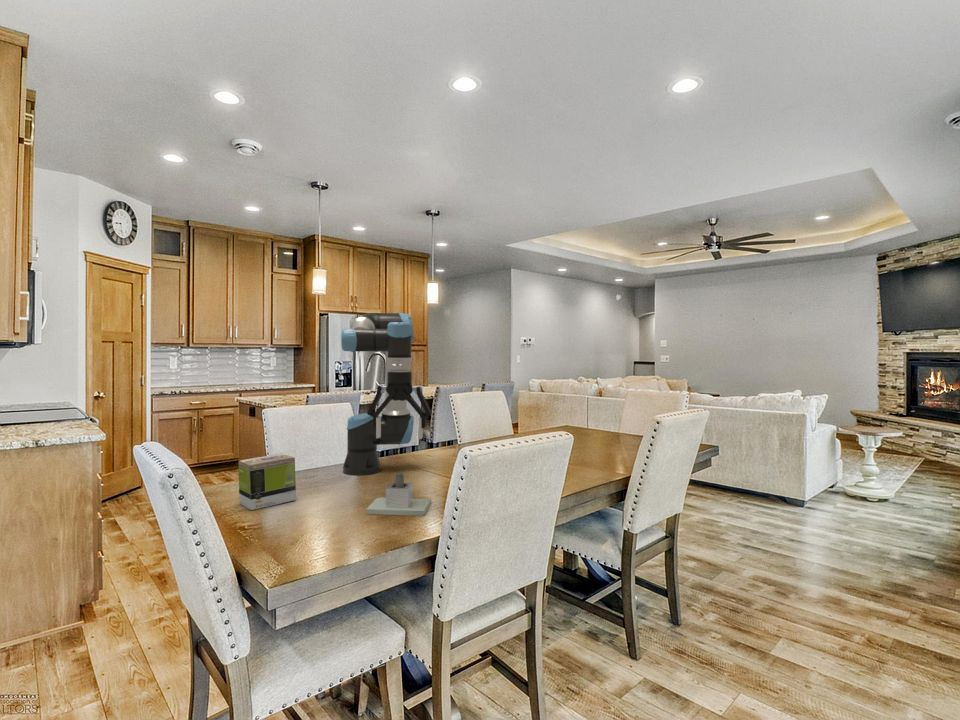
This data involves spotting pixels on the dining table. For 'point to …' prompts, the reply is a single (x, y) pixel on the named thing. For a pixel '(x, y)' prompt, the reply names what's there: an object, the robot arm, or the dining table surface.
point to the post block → (414, 509)
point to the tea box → (266, 481)
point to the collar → (399, 495)
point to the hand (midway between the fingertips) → (399, 438)
